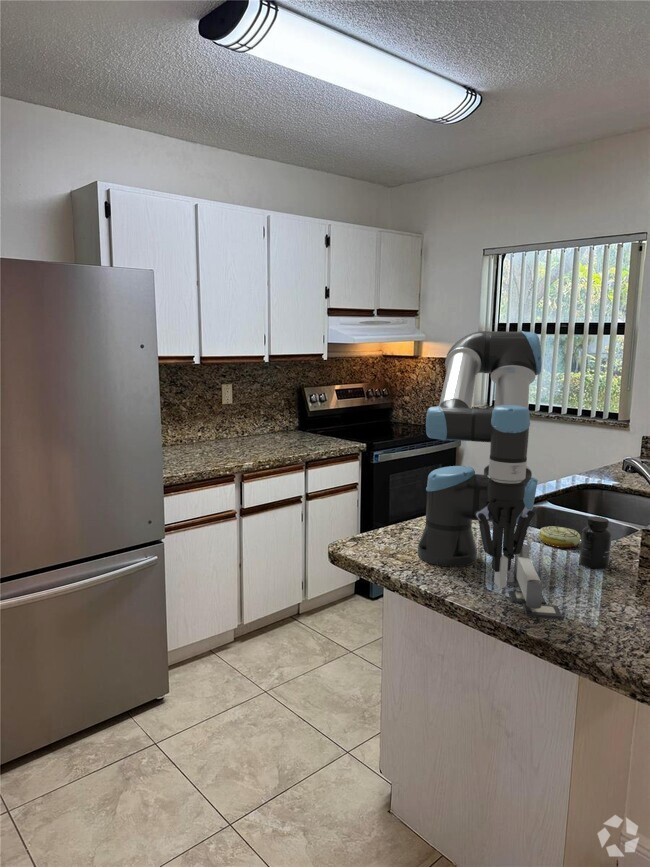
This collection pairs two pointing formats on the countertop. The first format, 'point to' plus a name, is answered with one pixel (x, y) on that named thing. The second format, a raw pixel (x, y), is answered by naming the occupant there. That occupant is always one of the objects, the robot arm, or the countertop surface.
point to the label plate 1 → (520, 597)
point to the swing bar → (529, 583)
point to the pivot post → (524, 554)
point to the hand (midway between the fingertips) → (500, 584)
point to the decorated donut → (559, 536)
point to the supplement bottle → (596, 543)
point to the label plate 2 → (544, 611)
